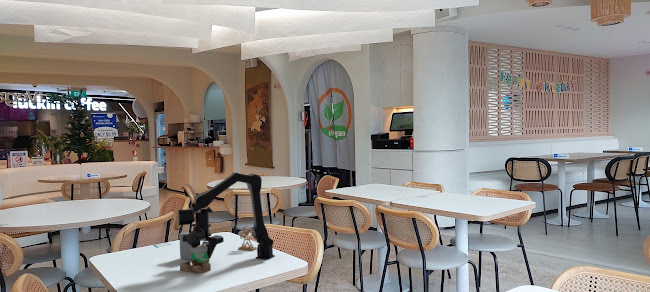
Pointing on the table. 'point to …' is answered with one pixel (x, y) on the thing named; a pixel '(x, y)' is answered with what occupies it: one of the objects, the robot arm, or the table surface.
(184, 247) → the sliding gate
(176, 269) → the table surface
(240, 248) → the lattice stand
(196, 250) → the food container
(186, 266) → the frame
